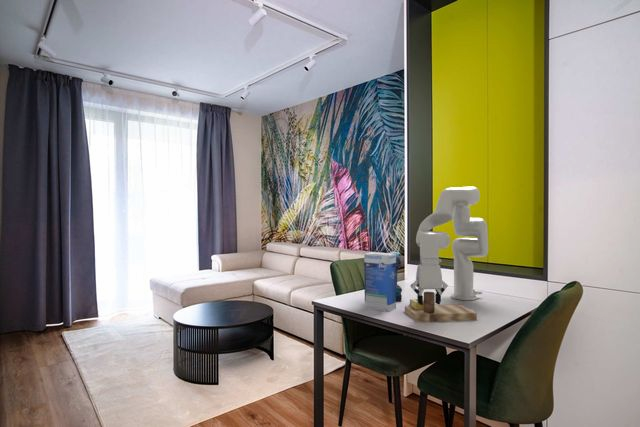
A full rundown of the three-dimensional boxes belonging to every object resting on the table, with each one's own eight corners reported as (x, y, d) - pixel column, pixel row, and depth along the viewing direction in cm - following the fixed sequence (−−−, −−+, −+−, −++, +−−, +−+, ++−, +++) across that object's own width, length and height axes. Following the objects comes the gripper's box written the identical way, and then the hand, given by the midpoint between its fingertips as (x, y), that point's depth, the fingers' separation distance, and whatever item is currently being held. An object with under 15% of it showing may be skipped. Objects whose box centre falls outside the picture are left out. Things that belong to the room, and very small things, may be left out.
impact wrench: (398, 295, 196) (399, 249, 196) (404, 305, 173) (404, 253, 173) (384, 294, 197) (384, 248, 196) (388, 305, 174) (388, 253, 174)
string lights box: (396, 309, 166) (396, 253, 166) (389, 312, 160) (389, 255, 160) (371, 304, 175) (371, 251, 175) (363, 308, 169) (363, 253, 169)
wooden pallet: (459, 310, 164) (459, 304, 164) (477, 320, 150) (477, 313, 150) (404, 312, 161) (404, 305, 161) (417, 322, 147) (417, 315, 147)
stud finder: (426, 305, 161) (426, 298, 161) (431, 308, 156) (431, 301, 156) (411, 306, 160) (411, 299, 160) (415, 309, 155) (415, 301, 155)
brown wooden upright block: (431, 315, 154) (431, 291, 154) (436, 318, 150) (436, 293, 150) (421, 316, 154) (422, 291, 154) (426, 319, 149) (426, 294, 149)
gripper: (444, 260, 156) (444, 301, 156) (406, 261, 154) (406, 302, 154) (453, 262, 149) (452, 305, 149) (412, 263, 147) (412, 307, 147)
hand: (429, 303), depth 152 cm, fingers open, 7 cm apart
